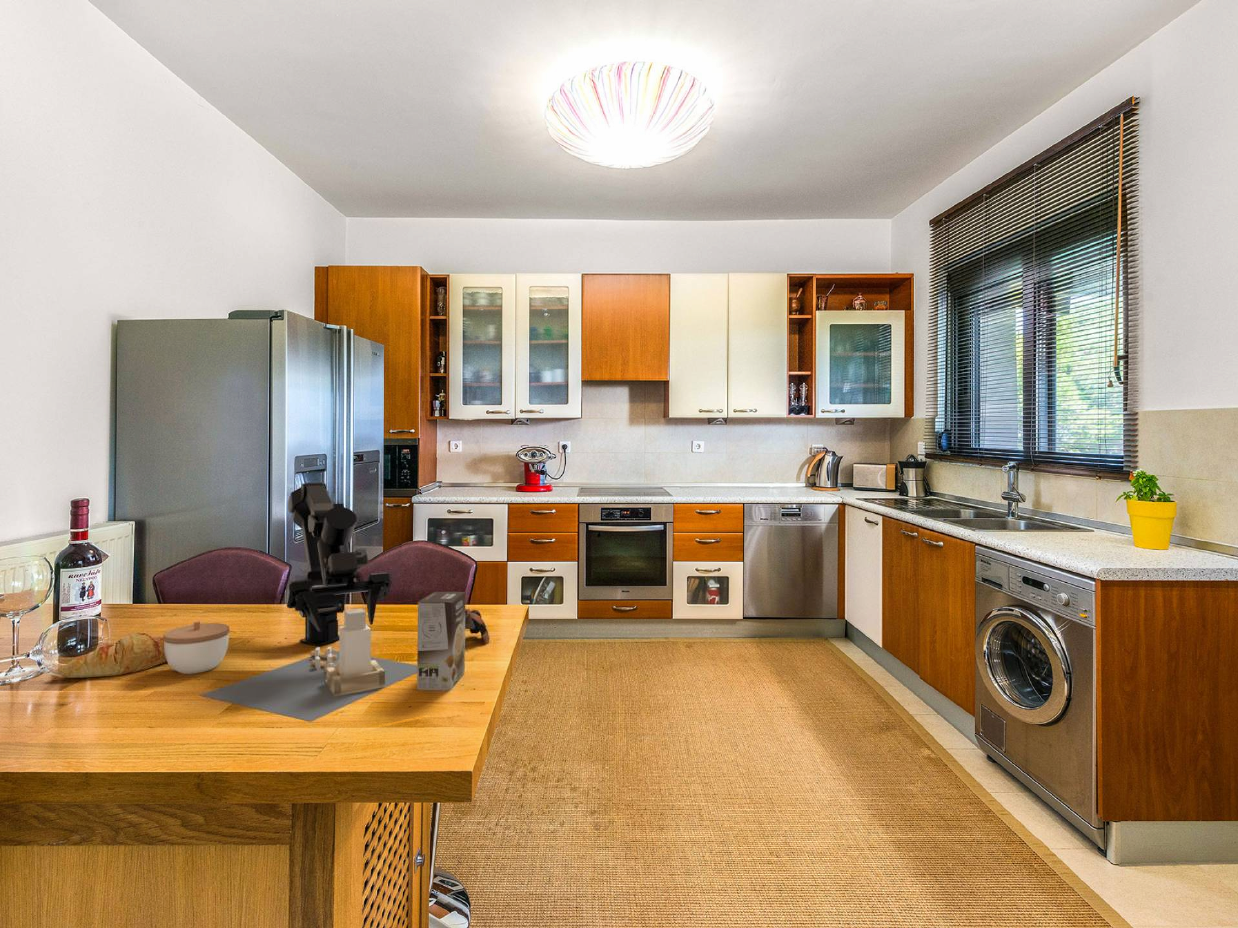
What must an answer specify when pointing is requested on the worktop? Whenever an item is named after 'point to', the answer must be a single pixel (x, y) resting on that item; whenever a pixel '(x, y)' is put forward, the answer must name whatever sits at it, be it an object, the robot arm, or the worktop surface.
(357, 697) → the slate mat
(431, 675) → the coffee box
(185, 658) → the lidded jar
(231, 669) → the worktop surface
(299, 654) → the worktop surface
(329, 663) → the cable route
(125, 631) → the worktop surface
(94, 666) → the bread loaf
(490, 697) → the worktop surface
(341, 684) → the end holder
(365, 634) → the white square bottle
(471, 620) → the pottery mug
